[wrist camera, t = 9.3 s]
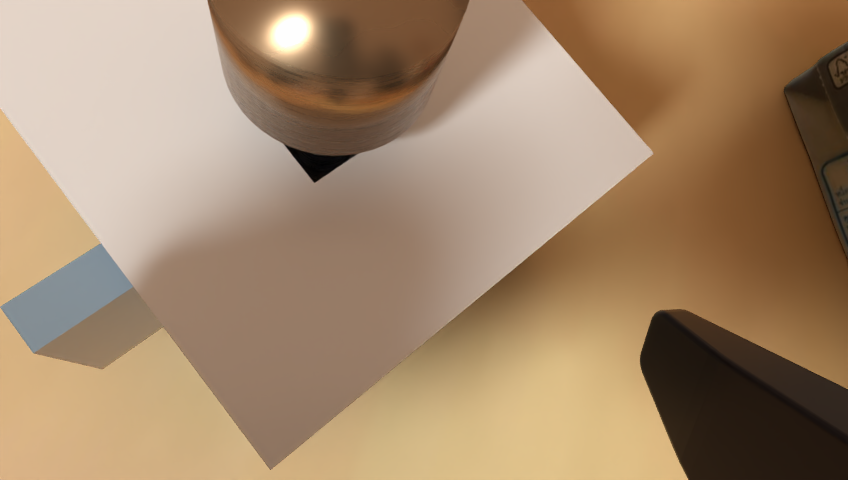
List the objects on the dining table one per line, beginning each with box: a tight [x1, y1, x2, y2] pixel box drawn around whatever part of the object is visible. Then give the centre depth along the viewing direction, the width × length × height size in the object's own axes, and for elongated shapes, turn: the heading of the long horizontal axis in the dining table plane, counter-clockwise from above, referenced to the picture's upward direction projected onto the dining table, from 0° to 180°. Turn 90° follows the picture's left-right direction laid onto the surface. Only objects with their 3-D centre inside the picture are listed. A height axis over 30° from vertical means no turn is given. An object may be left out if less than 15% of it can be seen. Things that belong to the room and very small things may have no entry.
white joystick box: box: [0, 0, 654, 470], centre depth 14 cm, size 9×11×7 cm
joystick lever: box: [207, 0, 469, 183], centre depth 12 cm, size 7×7×10 cm
